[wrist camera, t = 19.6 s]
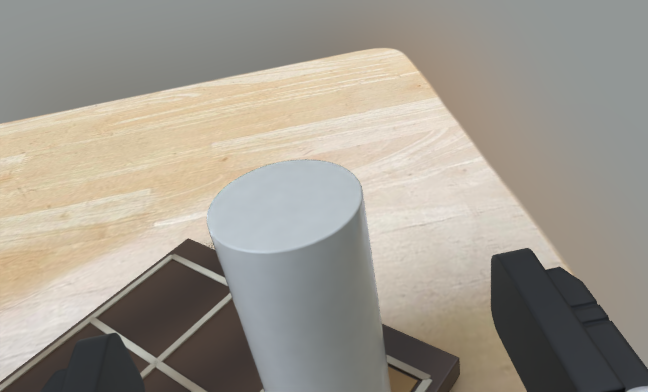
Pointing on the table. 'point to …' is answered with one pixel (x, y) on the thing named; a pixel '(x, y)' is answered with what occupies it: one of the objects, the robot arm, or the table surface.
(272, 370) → the tall white cylinder
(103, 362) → the robot arm
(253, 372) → the board
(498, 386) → the table surface
